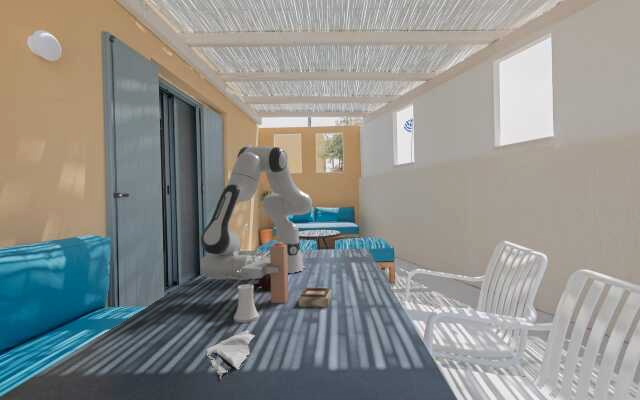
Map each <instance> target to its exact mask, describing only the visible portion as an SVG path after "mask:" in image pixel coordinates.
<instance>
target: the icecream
mask: <svg viewBox="0 0 640 400" xmlns="http://www.w3.org/2000/svg"><path fill="white" fill-rule="evenodd" d="M253 280H254V281H258V282H254V283H252V285H254V288H253V289H259V288H262V289H265V290H271V273H269V274H266V275H264V276H263V277H262V278H259V279H253Z"/></svg>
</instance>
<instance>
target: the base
mask: <svg viewBox="0 0 640 400" xmlns="http://www.w3.org/2000/svg"><path fill="white" fill-rule="evenodd" d="M331 300H332V289H330V287H305V288H304V289H303V291H302V292H301V293H300V294H299V296H298V306H299V307H320V308H321V307H326V308H327V307H329V305H330V302H331Z"/></svg>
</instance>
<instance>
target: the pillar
mask: <svg viewBox="0 0 640 400" xmlns="http://www.w3.org/2000/svg"><path fill="white" fill-rule="evenodd" d="M269 257H270V267H279V268H280V269H279V270H280V271H279V272H278V273H271V289H270V298H271V299H270V300H271V301H270V303H271V304H286V303H287V302H288V300H289V274H288V257H287V244H283V242H277V241H276V242H274V244H272V245H270V246H269Z"/></svg>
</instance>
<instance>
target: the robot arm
mask: <svg viewBox="0 0 640 400" xmlns="http://www.w3.org/2000/svg"><path fill="white" fill-rule="evenodd" d="M236 157H237V159H236V161H235V163H234V165H233V167H232V170H231V173H230V177H229V180H228V183H227V184H226V187H225V188H223V191H222V193H221V195H220V197H219V200H218V202H217V204H216V206H215V209H214V212H213V214H212V217H211V219H210V221H209V223H208V224H207V226H206V227H205V228H204V229H203V231H202V233H201V235H200V245H201V248H202V249H203V251H204V252H206V255H204V256H203V257H202V259H200V270H201V272H202V274H203V276H205V277H207V278H209V279H215V280H227V279H231V280H232V279H234V280H250V279H252V280H254V279H259V278H262V277H263V276H264V275H266V274H269V273H278V272H279V271H280V270H279V269H280V268H279V267H270V256H264V255H258V256H257V254H240V252H241V251H240V250H241V247H242V240H241V238H240V235H238V234H237V233H236V232H234V231H232V230H230V229H229V228H230V227H229V226H230V225H229V224H230V223H231V221H232V220H231V219H232V217H233V214H234V212H235V210H236V209H235V208H236V206H238V204H239V203H242V202H247V201H249V200H250V199H252V198H253V197H254V195H255V193H256V191H257V189H258V185H259V180H260V176H261V173H265V176H266V179H267V183H268V185H269V188H270V190H271V191H272V192H273V193H272V194H267V195H265V196H264V197H263V198H262V202H261V207H262V209H263V212H264V213H265V214H267V216H269V217H270V218H271V220H272V222H273V224H274V227H275V235H276V242H283V244H287V257H288V273H290V274H296V273H295V272H298V273H300V272H299V271H301V272H303V271H304V269H303V268H305V269H306V266H304V260H303V253H302V252H301V250H300V249H301V244H300V237H299V236H300V235H299V234H300V232H299V231H300V230H299V227H298V225H297V224H296V223H294V222H292V221H290V219H289V217H288V216H302V215H305V214H309V213H310V212H311V210H312V208H313V200H312V198H311V196H310V195H309V193H306V192H304V191H302V190H301V189H299V187H298V186H297V185H296V184H295V182H294V180H293V177H292V175H291V171H290V168H289V167H290V166H289V164H288V156H287V153H286V151H285V150H284V149H283V148H281V147H277V146H274V147H273V146H267V145H261V146H260V145H259V146H243V147H242V148H241V149H240V150H239V151H238V154H237V155H236ZM302 270H303V271H302Z"/></svg>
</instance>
